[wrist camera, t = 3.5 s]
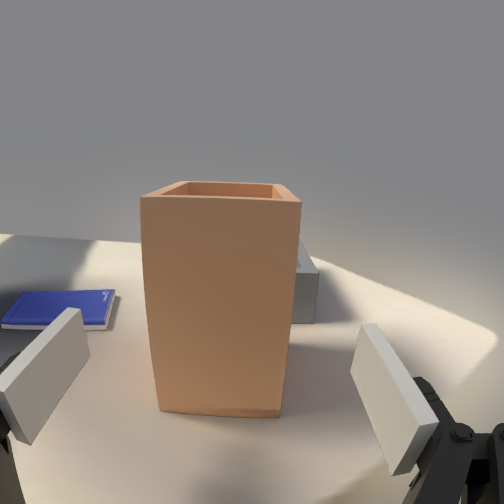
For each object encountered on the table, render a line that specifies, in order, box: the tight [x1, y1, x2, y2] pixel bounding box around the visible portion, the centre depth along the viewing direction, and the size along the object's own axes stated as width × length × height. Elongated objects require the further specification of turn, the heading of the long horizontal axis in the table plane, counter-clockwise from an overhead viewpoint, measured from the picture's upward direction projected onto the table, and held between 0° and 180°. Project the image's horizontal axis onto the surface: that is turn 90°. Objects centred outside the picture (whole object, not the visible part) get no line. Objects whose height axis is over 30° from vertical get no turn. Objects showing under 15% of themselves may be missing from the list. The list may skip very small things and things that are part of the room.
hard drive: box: [0, 289, 115, 330], centre depth 31 cm, size 2×8×12 cm
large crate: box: [291, 239, 319, 324], centre depth 40 cm, size 15×17×6 cm
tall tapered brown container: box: [140, 181, 302, 418], centre depth 22 cm, size 8×10×14 cm
